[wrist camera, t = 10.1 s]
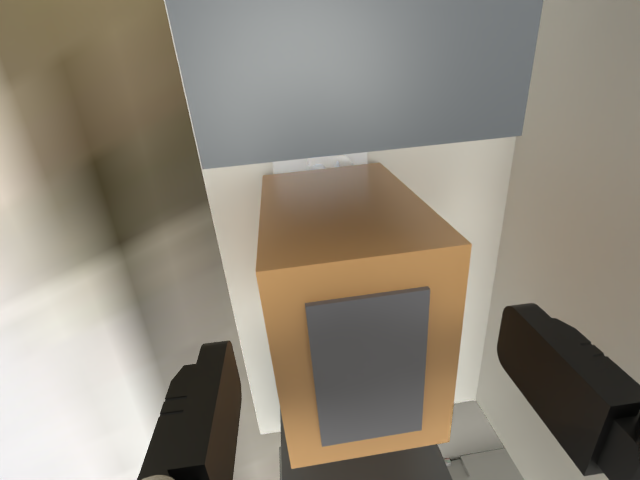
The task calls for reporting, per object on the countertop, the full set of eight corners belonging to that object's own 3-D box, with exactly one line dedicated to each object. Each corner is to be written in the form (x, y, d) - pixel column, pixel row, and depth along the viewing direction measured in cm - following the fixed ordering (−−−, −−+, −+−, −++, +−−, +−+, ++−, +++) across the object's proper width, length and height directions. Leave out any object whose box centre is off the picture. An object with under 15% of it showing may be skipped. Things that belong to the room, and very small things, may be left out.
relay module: (379, 162, 16) (475, 247, 8) (381, 297, 19) (451, 446, 11) (262, 175, 15) (255, 275, 8) (283, 311, 18) (291, 473, 11)
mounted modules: (392, -117, 12) (616, -451, 4) (388, 417, 23) (447, 594, 15) (198, -107, 11) (45, -466, 4) (289, 433, 22) (299, 625, 15)
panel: (577, -201, 13) (1327, -855, 4) (482, 385, 25) (601, 566, 16) (129, -187, 12) (-368, -1076, 3) (260, 420, 24) (254, 636, 15)
